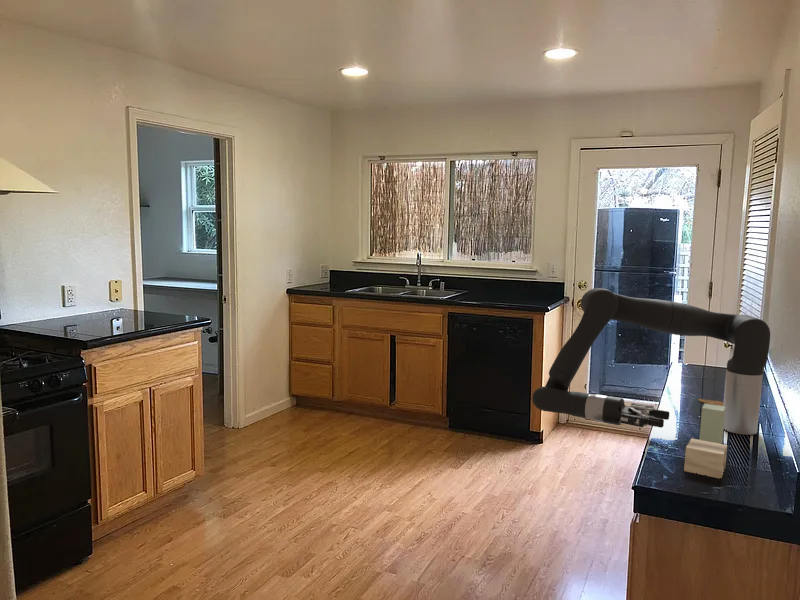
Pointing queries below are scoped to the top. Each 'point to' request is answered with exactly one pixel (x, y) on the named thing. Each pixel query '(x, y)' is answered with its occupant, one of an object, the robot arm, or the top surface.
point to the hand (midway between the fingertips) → (666, 419)
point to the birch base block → (705, 458)
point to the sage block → (712, 423)
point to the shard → (711, 402)
